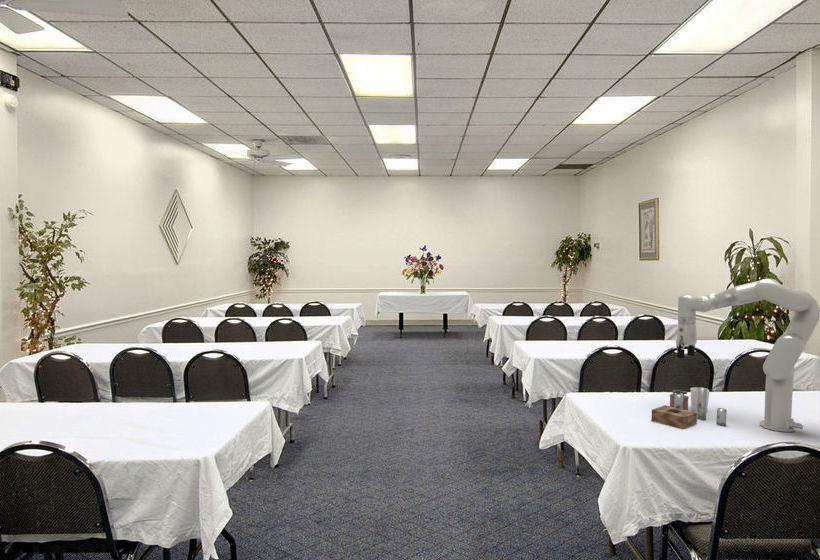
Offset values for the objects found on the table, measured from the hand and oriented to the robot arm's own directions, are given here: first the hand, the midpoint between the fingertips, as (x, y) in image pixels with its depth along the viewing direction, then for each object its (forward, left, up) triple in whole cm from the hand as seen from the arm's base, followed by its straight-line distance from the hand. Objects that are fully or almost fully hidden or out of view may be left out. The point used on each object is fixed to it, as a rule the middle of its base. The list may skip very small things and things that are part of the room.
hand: (685, 356), depth 247 cm
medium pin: (-3, +13, -26) cm, 29 cm away
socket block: (-6, +23, -26) cm, 35 cm away
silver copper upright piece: (+1, +4, -26) cm, 26 cm away
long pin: (-11, +8, -26) cm, 29 cm away
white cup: (-4, -6, -26) cm, 27 cm away
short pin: (-20, +10, -26) cm, 34 cm away
